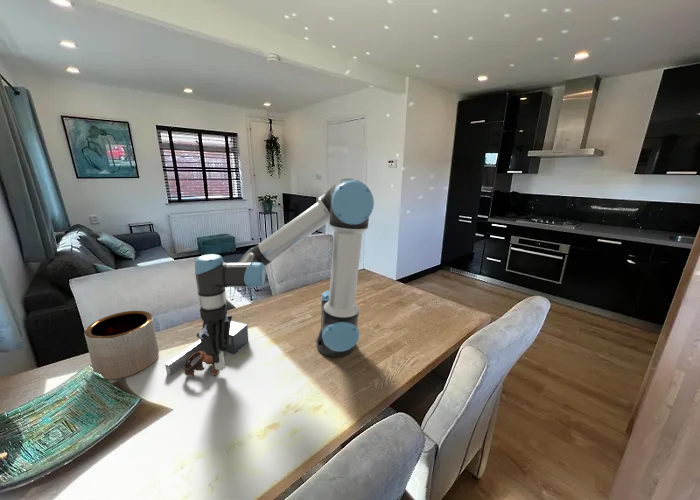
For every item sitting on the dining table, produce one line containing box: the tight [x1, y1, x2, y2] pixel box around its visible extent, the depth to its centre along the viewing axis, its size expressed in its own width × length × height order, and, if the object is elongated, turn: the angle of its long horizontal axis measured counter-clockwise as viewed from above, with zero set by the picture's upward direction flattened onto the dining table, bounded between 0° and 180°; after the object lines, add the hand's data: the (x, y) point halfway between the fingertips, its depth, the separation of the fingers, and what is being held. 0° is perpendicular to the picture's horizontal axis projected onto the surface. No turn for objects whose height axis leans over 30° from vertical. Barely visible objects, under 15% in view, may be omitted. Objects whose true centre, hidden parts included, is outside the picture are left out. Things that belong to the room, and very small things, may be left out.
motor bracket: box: [165, 320, 250, 376], centre depth 100 cm, size 14×24×10 cm, turn 163°
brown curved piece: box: [182, 351, 219, 377], centre depth 94 cm, size 12×10×8 cm
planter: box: [84, 310, 160, 380], centre depth 95 cm, size 18×18×16 cm
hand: (220, 368), depth 93 cm, fingers closed
